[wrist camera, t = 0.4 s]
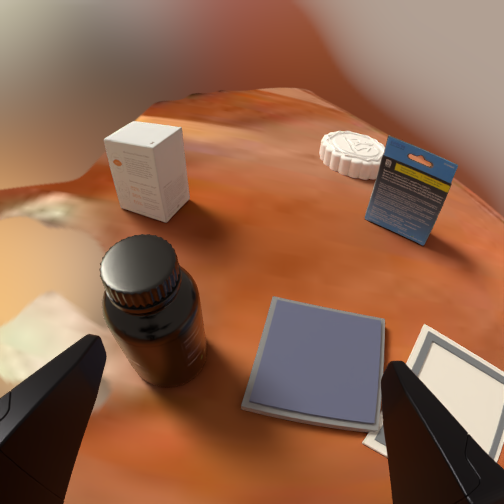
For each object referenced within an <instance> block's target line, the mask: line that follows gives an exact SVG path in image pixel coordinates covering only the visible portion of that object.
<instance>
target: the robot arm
mask: <svg viewBox="0 0 504 504" xmlns="http://www.w3.org/2000/svg"><path fill="white" fill-rule="evenodd" d="M105 362H106V351H105V348H104V346H103V343H102V340H101V338H100V337H99V336H97V335H92V334H88V335H86V336H84V337H83V338H82V339H80V340H79V341H77V342H76V343H75V344H73V345H72V346H70V347H69V348H68V349H66V350H65V351H63V352H62V353H61V354H59V355H58V356H57V357H55V358H54V359H52V360H51V361H50V362H48V363H47V364H46V365H44V366H43V367H42V368H40V369H39V370H37V371H36V372H35V373H33V374H32V375H31V376H29V377H28V378H27V379H25V380H24V381H23V382H21V383H20V384H19V385H17V386H16V387H15V388H13V389H12V390H11V391H9V392H8V393H7V394H5V395H4V396H3V397H1V398H0V504H63V503H64V499H65V495H66V491H67V488H68V484H69V481H70V477H71V474H72V471H73V467H74V464H75V461H76V457H77V454H78V451H79V448H80V445H81V442H82V439H83V436H84V433H85V430H86V427H87V424H88V421H89V418H90V415H91V412H92V410H93V407H94V404H95V401H96V398H97V394H98V390H99V386H100V382H101V378H102V374H103V370H104V366H105ZM381 397H382V416H383V429H384V436H385V442H386V449H387V457H388V464H389V472H390V481H391V490H392V500H393V504H504V469H503V468H502V467H501V466H500V465H499V464H498V463H497V462H495V461H494V460H493V459H492V458H491V457H490V456H489V455H488V454H487V453H486V452H485V451H484V450H483V449H482V448H481V446H480V445H479V444H478V443H477V442H476V441H475V440H474V439H473V438H472V436H471V435H470V434H468V432H467V431H466V430H465V429H464V428H463V426H462V425H461V424H460V423H459V422H458V421H457V420H456V418H455V417H454V416H453V415H452V414H451V413H450V412H449V411H448V410H447V408H446V407H445V406H444V405H443V404H442V403H441V402H440V401H439V400H438V398H437V397H436V396H435V395H434V394H433V393H432V392H431V391H430V390H429V389H428V388H427V386H426V385H425V384H424V383H423V382H422V381H421V380H420V379H419V378H418V377H417V376H416V374H415V373H414V372H413V371H412V370H411V369H410V368H409V367H408V366H407V365H406V364H405V363H404V362H403V361H391V362H390V363H389V364H388V366H387V368H386V370H385V372H384V374H383V376H382V378H381Z"/></svg>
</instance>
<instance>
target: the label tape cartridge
mask: <svg viewBox="0 0 504 504" xmlns="http://www.w3.org/2000/svg"><path fill="white" fill-rule="evenodd" d="M409 154H412V155H415V156H420V155H421V156H423V158H424V160H426V161H428V162H430V163H431V164H432V166H430V167H429V166H426V165H424V164H422V163H419V162H417V161H415V160H412V159H410V158H409V157H408V155H409ZM457 167H458V165H457V164H455V163H453V162H450V161H448V160H446V159H444V158H442V157H439V156H437V155H435V154H433V153H431V152H428V151H426V150H424V149H422V148H419V147H417V146H414V145H412V144H409V143H407V142H404V141H402V140H399V139H397V138H394V137H392V136H389V135H388V138H387V142H386V146H385V150H384V153H383V155H382V158H381V162H380V166H379V170H378V174H377V178H376V181H375V184H374V188H373V192H372V195H371V198H370V202H369V205H368V208H367V211H366V214H365V219H366V220H368V221H370V222H373V223H375V224H377V225H380V226H382V227H384V228H387V229H389V230H391V231H393V232H395V233H398V234H400V235H402V236H404V237H406V238H408V239H410V240H412V241H415V242H417V243H419V244H421V245H423V246H424V245H425V243H426V241H427V239H428V237H429V235H430V232H431V230H432V228H433V226H434V224H435V222H436V220H437V217H438V215H439V213H440V211H441V208H442V206H443V204H444V201H445V199H446V197H447V194H448V192H449V189H450V187H451V182H452V179H453V177H454V175H455V172H456V169H457Z"/></svg>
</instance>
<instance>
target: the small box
mask: <svg viewBox="0 0 504 504" xmlns="http://www.w3.org/2000/svg"><path fill="white" fill-rule="evenodd" d="M104 143H105V147H106V152H107V156H108V160H109V165H110V169H111V173H112V177H113V180H114V184H115V188H116V192H117V195H118V199H119V202H120V206H121V208H123V209H126V210H129V211H132V212H135V213H138V214H141V215H144V216H147V217H150V218H153V219H156V220H159V221H162V222H165V223H167V222H168V221H169V220H170V219H171V217H172V216H173V215H174V214H175V213H176V212H177V211H178V210H179V209H180V208H181V207H182V206H183V205H184V204H185V203H186V202H187V201H188V200H189V199H190V195H189V187H188V179H187V171H186V162H185V153H184V143H183V134H182V128H181V127H174V126H167V125H160V124H153V123H145V122H136V121H133V122H131V123H129V124H128V125H126V126H124V127H123V128H121V129H119V130H118V131H116V132H115V133H113V134H111V135H110V136H108V137H107V138H105V139H104Z"/></svg>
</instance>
